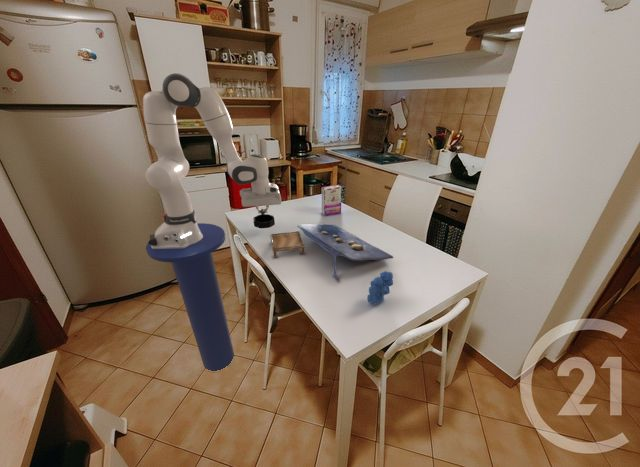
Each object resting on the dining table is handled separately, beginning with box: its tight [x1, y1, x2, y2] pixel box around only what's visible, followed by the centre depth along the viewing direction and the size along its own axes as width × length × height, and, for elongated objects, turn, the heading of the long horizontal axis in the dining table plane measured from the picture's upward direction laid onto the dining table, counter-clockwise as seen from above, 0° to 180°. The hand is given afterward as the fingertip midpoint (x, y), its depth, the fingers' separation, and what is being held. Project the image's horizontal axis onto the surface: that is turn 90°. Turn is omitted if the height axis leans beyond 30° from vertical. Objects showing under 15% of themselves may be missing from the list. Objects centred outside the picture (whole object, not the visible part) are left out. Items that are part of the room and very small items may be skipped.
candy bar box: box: [321, 184, 343, 217], centre depth 155 cm, size 11×5×16 cm, turn 113°
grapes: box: [366, 270, 394, 306], centre depth 89 cm, size 12×7×12 cm, turn 129°
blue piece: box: [296, 223, 394, 281], centre depth 121 cm, size 45×27×12 cm, turn 34°
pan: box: [252, 208, 276, 229], centre depth 134 cm, size 10×19×3 cm, turn 15°
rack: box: [269, 230, 306, 259], centre depth 121 cm, size 14×14×5 cm
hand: (262, 212), depth 139 cm, fingers closed on pan, 2 cm apart
